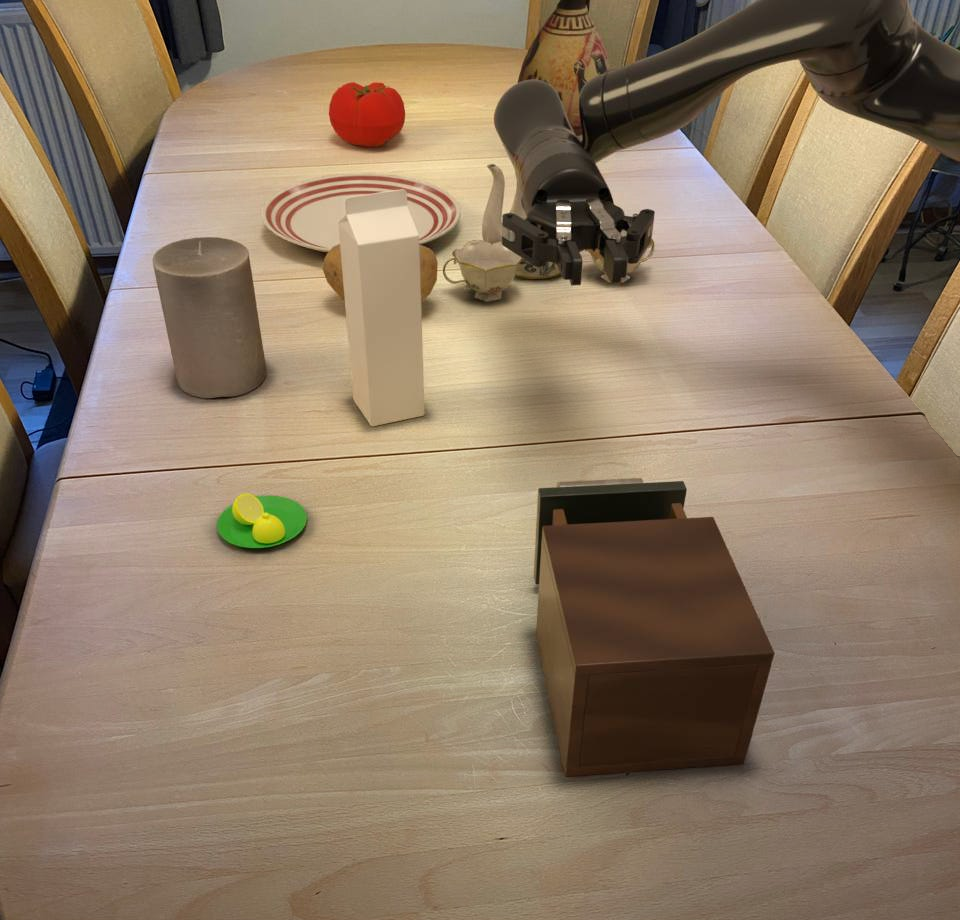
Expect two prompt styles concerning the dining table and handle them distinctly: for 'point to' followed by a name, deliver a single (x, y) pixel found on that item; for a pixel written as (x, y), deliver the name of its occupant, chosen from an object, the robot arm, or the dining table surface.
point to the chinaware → (504, 251)
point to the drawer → (606, 504)
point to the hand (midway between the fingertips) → (597, 272)
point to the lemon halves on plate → (261, 521)
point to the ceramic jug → (567, 55)
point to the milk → (383, 306)
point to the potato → (427, 271)
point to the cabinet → (648, 646)
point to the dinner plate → (321, 205)
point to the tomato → (366, 113)
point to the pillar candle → (211, 316)
